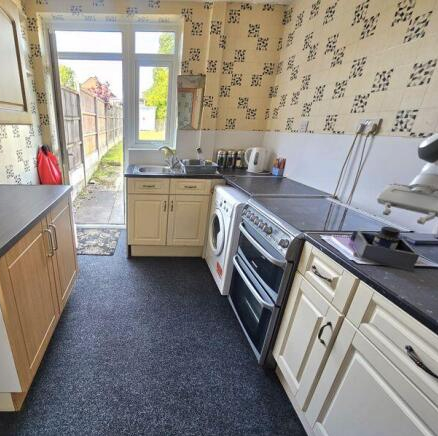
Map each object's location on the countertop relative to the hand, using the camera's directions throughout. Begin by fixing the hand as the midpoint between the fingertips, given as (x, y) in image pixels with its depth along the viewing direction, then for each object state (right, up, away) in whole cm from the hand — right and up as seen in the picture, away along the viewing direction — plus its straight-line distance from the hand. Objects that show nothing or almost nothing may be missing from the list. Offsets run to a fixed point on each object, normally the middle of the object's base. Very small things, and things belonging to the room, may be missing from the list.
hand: (401, 218), depth 87 cm
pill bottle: (-5, -14, +4) cm, 15 cm away
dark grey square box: (-5, -15, +4) cm, 16 cm away
